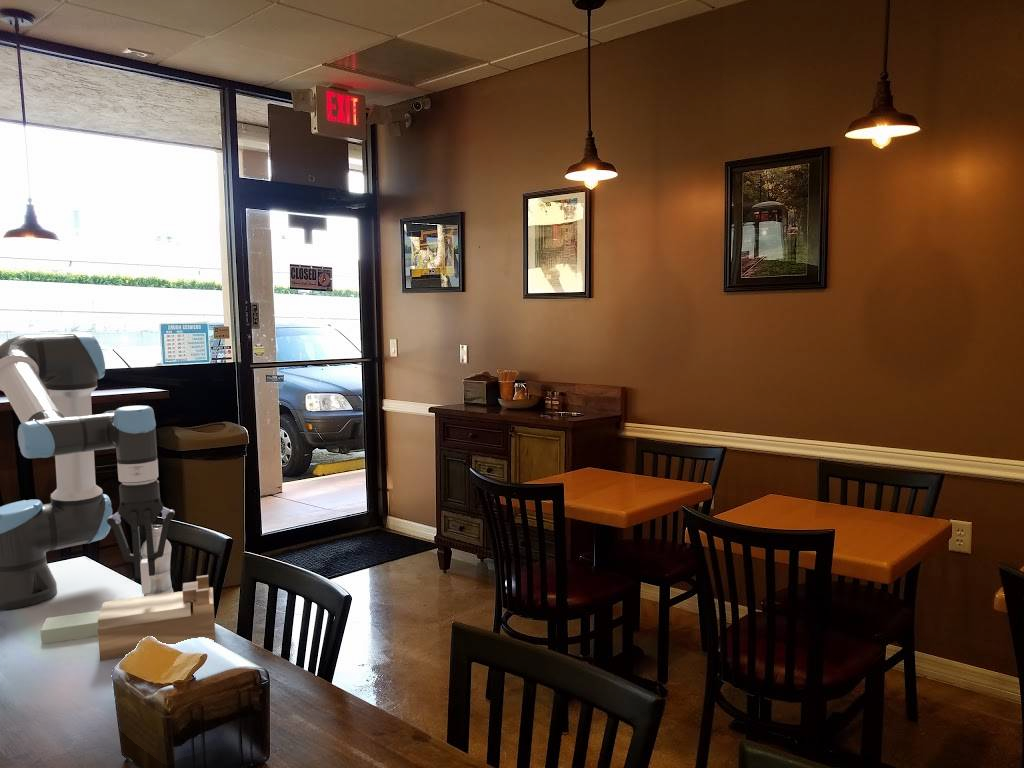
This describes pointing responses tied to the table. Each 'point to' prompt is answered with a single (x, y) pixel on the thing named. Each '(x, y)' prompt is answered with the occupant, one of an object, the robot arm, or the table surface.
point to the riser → (70, 627)
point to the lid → (143, 610)
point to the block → (190, 591)
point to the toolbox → (163, 627)
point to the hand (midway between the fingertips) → (146, 590)
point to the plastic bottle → (159, 565)
